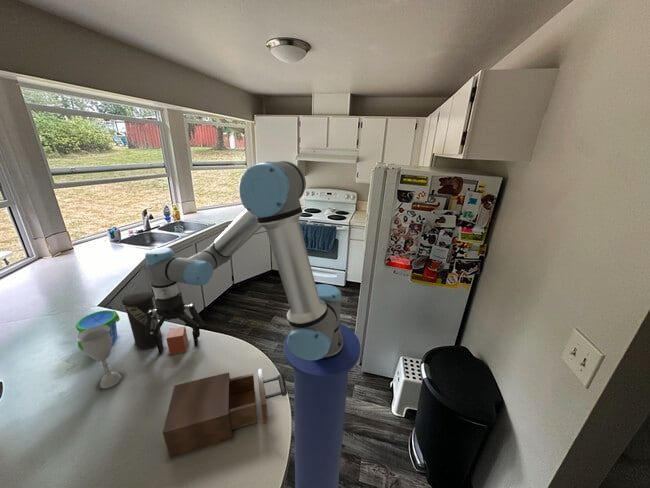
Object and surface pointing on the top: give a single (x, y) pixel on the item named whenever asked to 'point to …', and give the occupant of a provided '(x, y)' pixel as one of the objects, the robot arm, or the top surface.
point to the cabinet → (198, 415)
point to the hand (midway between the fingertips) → (179, 347)
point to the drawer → (249, 399)
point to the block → (177, 340)
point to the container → (140, 316)
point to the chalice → (99, 351)
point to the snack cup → (99, 323)
